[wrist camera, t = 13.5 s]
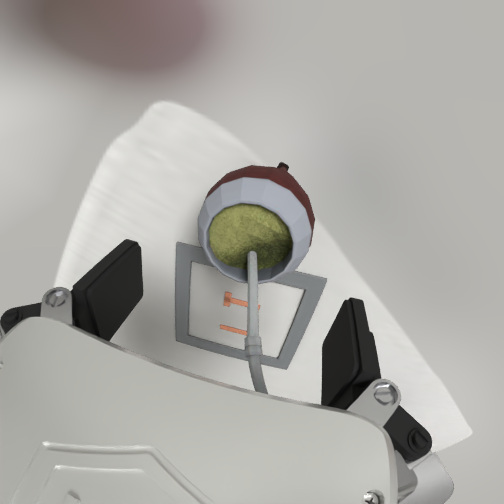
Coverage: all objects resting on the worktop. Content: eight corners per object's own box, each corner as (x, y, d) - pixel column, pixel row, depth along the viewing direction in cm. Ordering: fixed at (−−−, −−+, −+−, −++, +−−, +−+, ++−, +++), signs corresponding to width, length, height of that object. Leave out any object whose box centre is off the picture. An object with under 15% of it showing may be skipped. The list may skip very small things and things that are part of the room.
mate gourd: (245, 138, 19) (133, 209, 7) (337, 187, 20) (387, 333, 7) (209, 217, 23) (112, 353, 10) (291, 259, 24) (270, 423, 11)
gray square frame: (286, 367, 31) (286, 369, 31) (176, 339, 32) (175, 340, 32) (326, 278, 24) (327, 280, 24) (177, 241, 25) (176, 243, 25)
